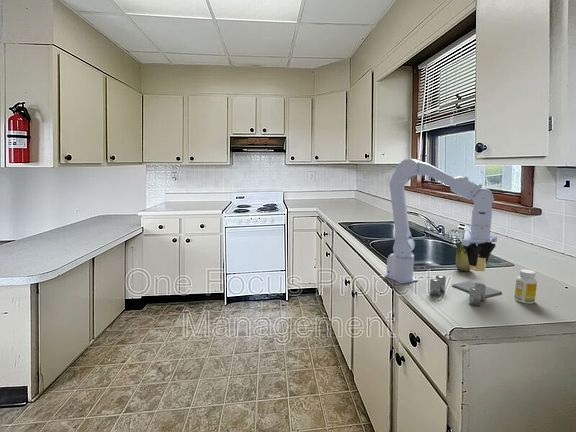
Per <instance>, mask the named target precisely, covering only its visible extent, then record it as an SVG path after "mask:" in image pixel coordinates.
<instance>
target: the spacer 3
mask: <svg viewBox="0 0 576 432" xmlns="http://www.w3.org/2000/svg"><path fill="white" fill-rule="evenodd" d="M468 297H469V299H468V305H469V306H471V307H477V308H478V307H481V302H480V299H481V289H480V288H476V287H471V288H470V293H469V296H468Z"/></svg>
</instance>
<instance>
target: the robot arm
mask: <svg viewBox="0 0 576 432" xmlns="http://www.w3.org/2000/svg"><path fill="white" fill-rule="evenodd" d="M416 176H426V177H427V176H428V177H430V178H432V179H435V180H436V181H439V182H440V183H443V184H445V185H447V186H449V188H450V191H451V192H452V193H454V194H456V195H458V196H461V198H464V199H466V200H468V201H473V202H472V203H473V210H472V211H471V224H470V235H469V236H468V237H466V238H462V239H461V246H462V245H463V247H464V249H465V251H466V253H467V256H468V261H469V265H471V266H476V264H477V260H478V255H481V256H485V257H486V264H488V260H489V258H490V256H491V253H493V250H494V249H495V248H496V243H497V239H498V236H497V235H493V234H492V235H491V229H492V228H491V227H492V218H493V216H492V214H493V211H492V209H493V205H492V204H493V203H494V202H495V198H494V194H493V191H491V190H490V189H488V187H485V186H483V184H481V183H479V184H478V183H476V182H474V181H471V180H470V179H469V177H468V176H464V177H463V176H461V175H460V176H456V177H454V176H453V175H450V174H448V173H446V172H445V171H443V170H441V169H440V168H437V167H436V166H434V165H431V164H430V163H427V162H423V161H420V160H418V159H415V158H404V159H403V160H402V161H401V162H399V163H398V164H397V165H396V167H395V170H394V171H393V174H392V176H391V178H390V180H389V192H390V199H391V207H392V215H393V224H394V237H393V238H394V243H393V246H392V251H393V253H390V254H389V255H388V257H387V258H386V274H384V277H386V278H388V279H390V280H392V281H395V282H398V283H400V284H408V283H412V282H417V281H419V278H417V277H414V265H415V263H414V262H415V255H414V253H413V250H414V249H415V247H416V242H415V240H414V239H413V236H412V232H411V230H410V225H409V217H408V208H407V201H406V192H405V185H407V184H408V182H409V181H411V179H413V178H414V177H416Z"/></svg>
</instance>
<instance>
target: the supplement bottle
mask: <svg viewBox="0 0 576 432" xmlns="http://www.w3.org/2000/svg"><path fill="white" fill-rule="evenodd" d="M535 277H536V271H533V270H532V269H520V270H519V275H518V276H517V277H516V278H515V280H516V281H515V290H514V297H513V298H514V300H515V301H517V302H519V303H522V304H528V305H529V304H531V305H532V304H534V303H535V301H536V294H537V286H538V285H537V284H538V280H537V279H536V278H535Z"/></svg>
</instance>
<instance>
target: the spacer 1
mask: <svg viewBox="0 0 576 432" xmlns="http://www.w3.org/2000/svg"><path fill="white" fill-rule="evenodd" d="M440 293H441V292H440V280H439V279H436V278H430V281H429V296H431V297H436V298H437V297H440Z"/></svg>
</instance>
